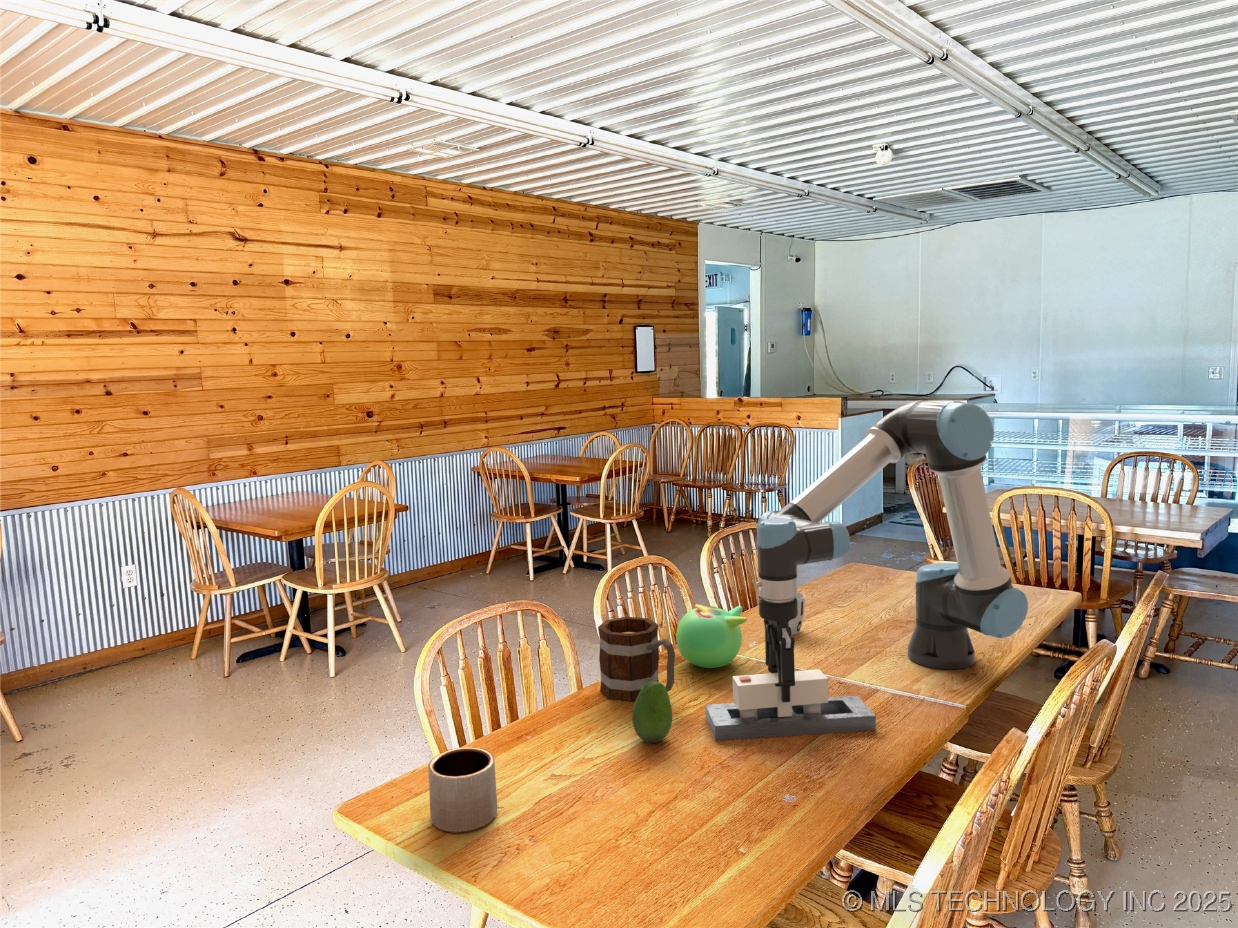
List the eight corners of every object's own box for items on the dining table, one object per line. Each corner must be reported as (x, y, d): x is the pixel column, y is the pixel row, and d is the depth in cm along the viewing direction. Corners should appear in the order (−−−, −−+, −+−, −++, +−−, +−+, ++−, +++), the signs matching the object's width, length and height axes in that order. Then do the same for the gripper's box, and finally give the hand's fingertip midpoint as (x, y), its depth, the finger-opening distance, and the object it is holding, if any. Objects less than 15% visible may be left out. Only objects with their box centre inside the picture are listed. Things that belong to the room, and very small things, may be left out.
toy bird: (675, 651, 211) (674, 595, 209) (742, 650, 210) (741, 594, 208) (678, 678, 193) (676, 617, 191) (751, 677, 192) (750, 616, 191)
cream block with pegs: (820, 713, 171) (819, 666, 169) (828, 724, 166) (827, 675, 164) (733, 720, 169) (732, 673, 168) (739, 731, 164) (738, 683, 163)
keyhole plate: (857, 708, 174) (857, 695, 173) (875, 730, 164) (875, 715, 164) (705, 718, 171) (705, 704, 171) (715, 740, 161) (714, 725, 161)
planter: (435, 801, 142) (432, 748, 141) (499, 797, 143) (497, 744, 142) (426, 837, 131) (422, 780, 130) (495, 832, 132) (492, 775, 131)
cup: (805, 637, 218) (805, 600, 217) (773, 636, 220) (773, 599, 219) (804, 627, 226) (804, 591, 225) (774, 626, 228) (774, 590, 227)
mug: (587, 691, 187) (585, 627, 185) (627, 674, 197) (626, 612, 195) (654, 715, 174) (652, 646, 172) (693, 695, 184) (692, 629, 182)
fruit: (625, 735, 165) (623, 677, 163) (661, 727, 168) (660, 670, 166) (642, 752, 157) (641, 692, 156) (680, 744, 160) (678, 684, 159)
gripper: (748, 586, 173) (751, 693, 176) (771, 612, 155) (774, 730, 158) (783, 583, 173) (786, 690, 176) (810, 609, 155) (813, 727, 158)
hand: (780, 709), depth 167 cm, fingers closed on cream block with pegs, 5 cm apart
